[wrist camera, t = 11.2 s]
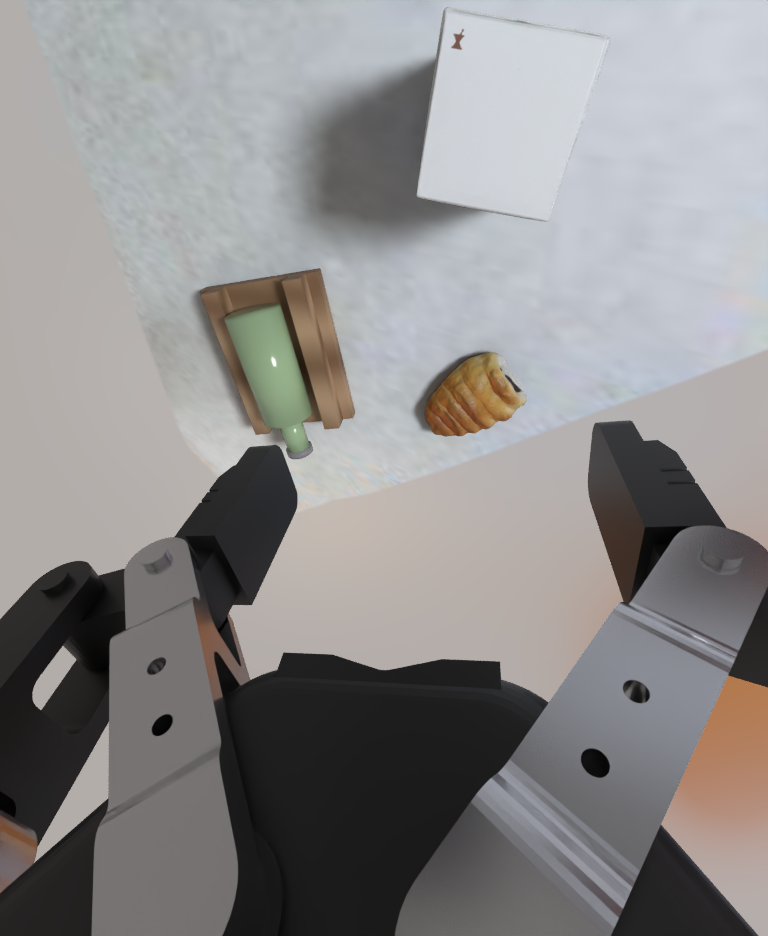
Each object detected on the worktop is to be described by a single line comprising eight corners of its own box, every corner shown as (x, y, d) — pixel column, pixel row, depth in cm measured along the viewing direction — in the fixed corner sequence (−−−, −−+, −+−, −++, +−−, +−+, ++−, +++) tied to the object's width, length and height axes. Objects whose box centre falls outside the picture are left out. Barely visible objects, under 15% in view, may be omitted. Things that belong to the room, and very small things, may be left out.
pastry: (450, 442, 47) (448, 463, 44) (409, 395, 44) (404, 414, 41) (531, 393, 42) (536, 412, 39) (490, 337, 40) (492, 353, 37)
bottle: (240, 306, 40) (213, 324, 37) (288, 299, 39) (266, 317, 35) (288, 440, 48) (269, 466, 44) (329, 438, 47) (314, 464, 43)
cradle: (206, 287, 41) (190, 296, 38) (320, 268, 38) (310, 276, 36) (258, 420, 49) (247, 435, 46) (355, 412, 46) (348, 427, 44)
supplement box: (427, 180, 33) (409, 198, 23) (452, 46, 29) (442, -3, 19) (524, 200, 33) (548, 226, 23) (564, 68, 29) (616, 30, 19)
